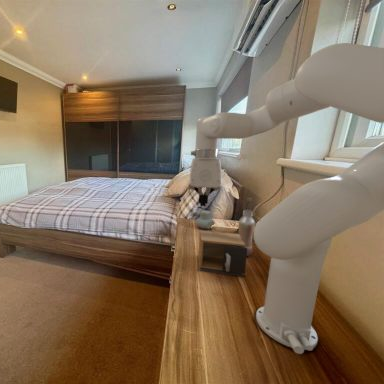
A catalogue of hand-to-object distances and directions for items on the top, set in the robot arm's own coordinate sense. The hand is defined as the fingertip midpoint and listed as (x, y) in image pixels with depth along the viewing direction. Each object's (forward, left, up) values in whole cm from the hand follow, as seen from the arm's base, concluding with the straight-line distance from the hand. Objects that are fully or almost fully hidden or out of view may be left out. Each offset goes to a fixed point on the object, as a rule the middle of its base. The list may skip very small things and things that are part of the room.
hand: (202, 205), depth 74 cm
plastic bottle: (+17, -20, -26) cm, 37 cm away
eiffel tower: (+39, -26, -26) cm, 54 cm away
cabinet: (+5, -8, -26) cm, 28 cm away
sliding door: (-2, -12, -25) cm, 28 cm away
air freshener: (+47, -6, -26) cm, 55 cm away
